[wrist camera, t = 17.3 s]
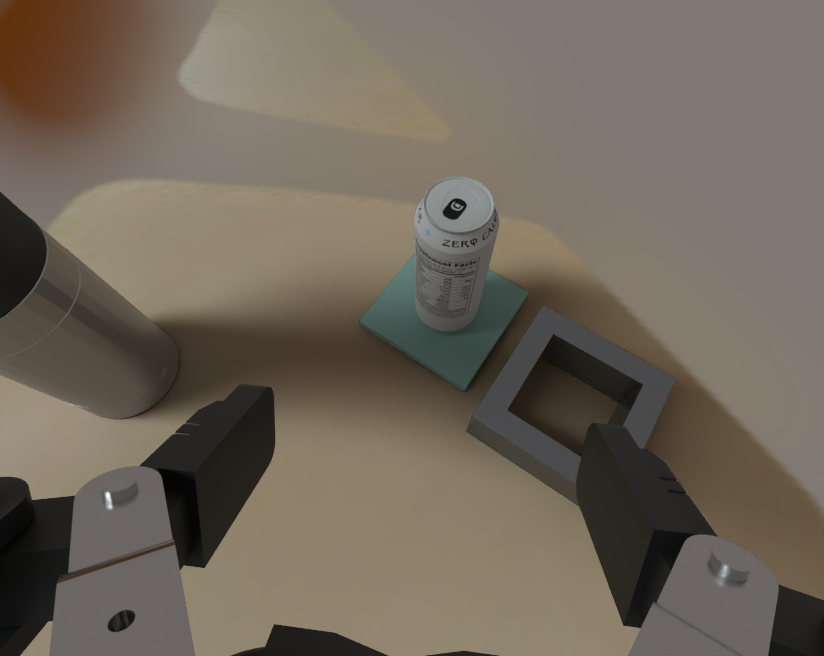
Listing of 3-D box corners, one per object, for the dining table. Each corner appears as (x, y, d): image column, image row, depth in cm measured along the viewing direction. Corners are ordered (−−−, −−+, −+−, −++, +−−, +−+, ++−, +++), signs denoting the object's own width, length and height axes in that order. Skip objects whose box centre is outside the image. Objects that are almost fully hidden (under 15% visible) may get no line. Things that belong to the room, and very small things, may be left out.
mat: (360, 325, 45) (358, 321, 44) (428, 242, 49) (428, 236, 48) (464, 391, 42) (465, 388, 41) (527, 297, 46) (529, 292, 45)
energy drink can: (488, 300, 45) (519, 193, 31) (456, 347, 43) (474, 254, 29) (436, 271, 46) (444, 157, 33) (403, 315, 44) (396, 213, 31)
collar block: (465, 431, 40) (471, 416, 36) (530, 329, 45) (543, 305, 40) (591, 514, 37) (615, 509, 33) (648, 396, 41) (676, 378, 37)
